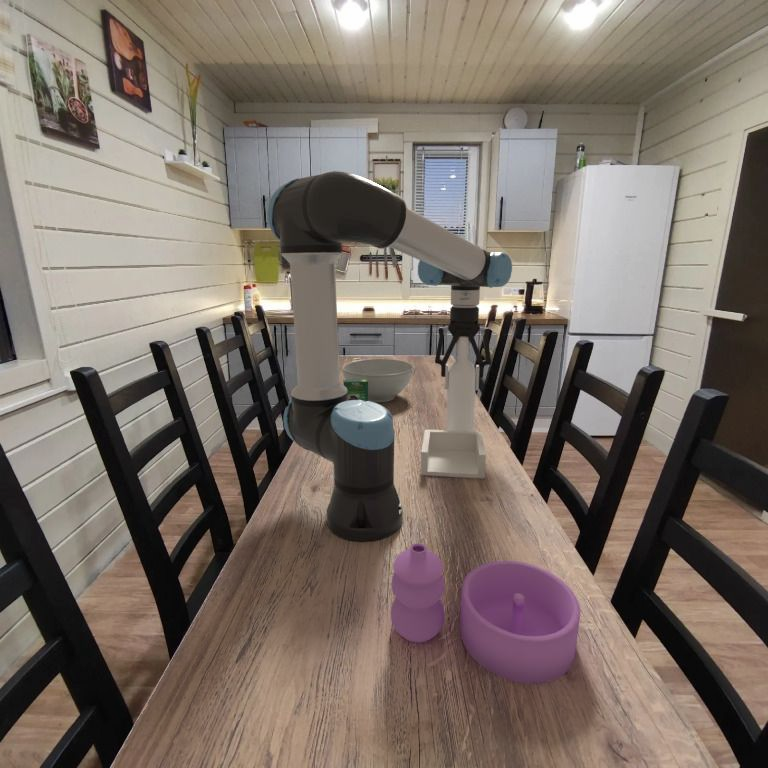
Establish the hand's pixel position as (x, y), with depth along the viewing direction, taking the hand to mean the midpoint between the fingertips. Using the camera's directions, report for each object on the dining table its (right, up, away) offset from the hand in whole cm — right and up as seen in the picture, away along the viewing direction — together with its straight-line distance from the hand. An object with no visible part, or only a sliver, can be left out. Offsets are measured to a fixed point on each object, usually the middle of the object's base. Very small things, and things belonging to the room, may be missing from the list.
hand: (461, 388), depth 128 cm
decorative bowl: (-24, -4, +44) cm, 51 cm away
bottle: (0, -15, +4) cm, 15 cm away
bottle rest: (-4, -19, -11) cm, 23 cm away
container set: (-8, -34, -64) cm, 73 cm away
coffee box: (-31, -10, +22) cm, 39 cm away
